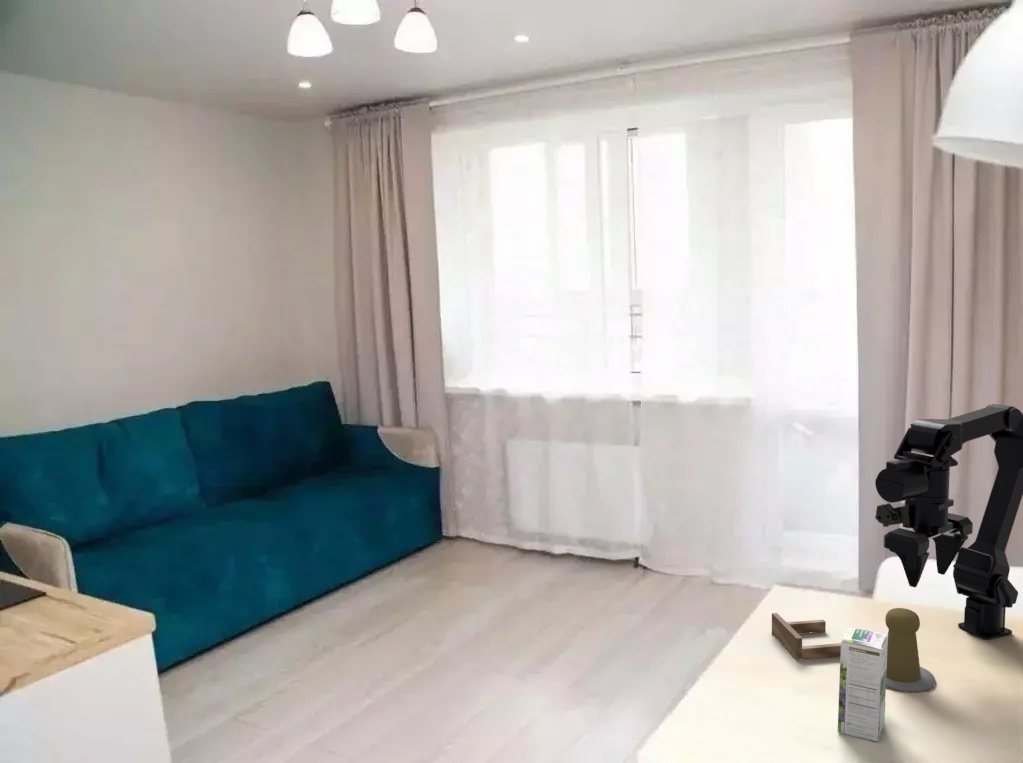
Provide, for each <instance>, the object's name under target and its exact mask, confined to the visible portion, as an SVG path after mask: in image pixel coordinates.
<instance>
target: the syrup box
mask: <svg viewBox="0 0 1023 763" xmlns="http://www.w3.org/2000/svg"><path fill="white" fill-rule="evenodd" d="M840 643H841V657H839V658H840V660H839V661H840V662H839V681H838V682H839V686H838V688H839V689H838V711H837V712H838V713H837V733H839V734H843V735H847V736H851V737H855V738H859V739H864V740H868V741H874V742H879V740H880V738H881V734H882V731H883V729H884V724H885V715H886V714H885V712H886V693H887V692H886V691H887V690H886V689H887V688H886V672H887V645H888V634H884V633H881V632H878V631H873V630H870V629H865V628H859V627H858V628H857V627H856V628H855V627H848V629H847V631H846V632H845V634H844V637H843V639H842V640H841V641H840Z"/></svg>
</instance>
